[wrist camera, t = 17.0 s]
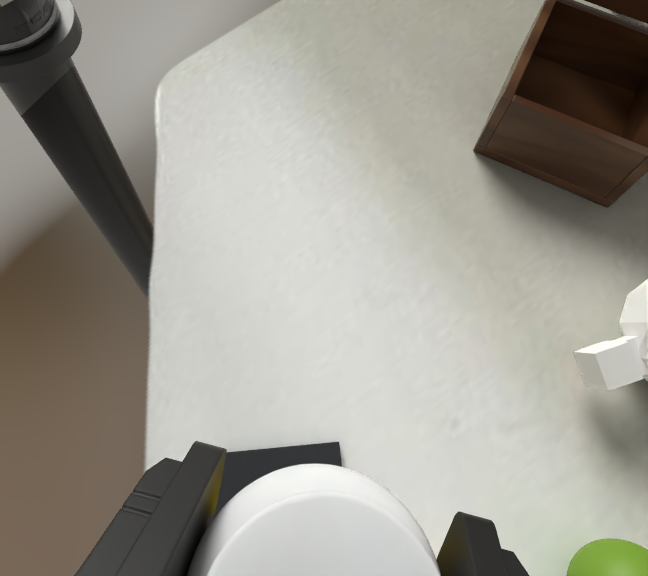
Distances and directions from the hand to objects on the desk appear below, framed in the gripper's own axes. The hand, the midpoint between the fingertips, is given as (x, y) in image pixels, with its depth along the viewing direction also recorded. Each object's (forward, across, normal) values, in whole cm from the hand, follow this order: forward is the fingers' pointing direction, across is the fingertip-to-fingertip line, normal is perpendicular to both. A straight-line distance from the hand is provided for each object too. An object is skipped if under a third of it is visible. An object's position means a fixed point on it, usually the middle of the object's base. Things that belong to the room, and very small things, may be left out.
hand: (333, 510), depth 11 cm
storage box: (+38, +14, +12) cm, 42 cm away
